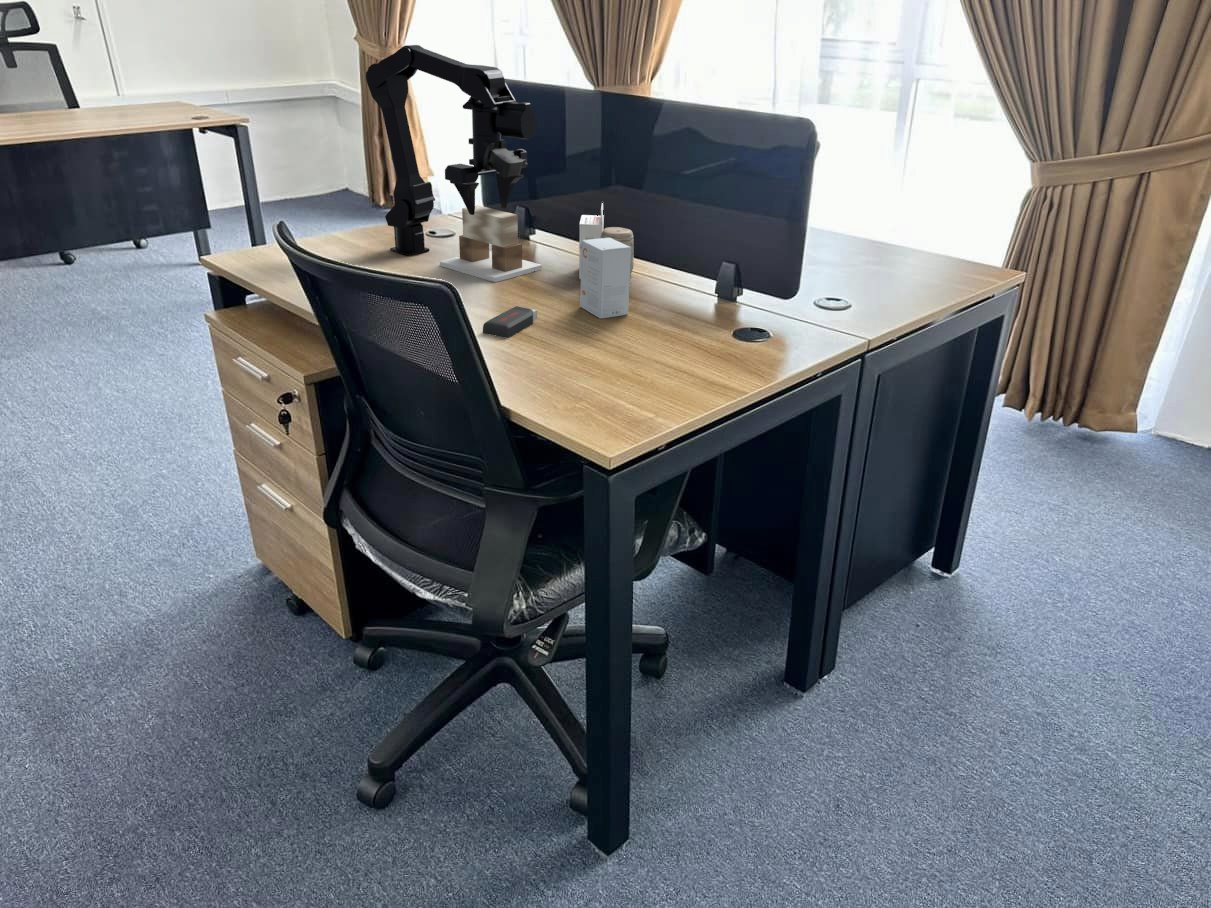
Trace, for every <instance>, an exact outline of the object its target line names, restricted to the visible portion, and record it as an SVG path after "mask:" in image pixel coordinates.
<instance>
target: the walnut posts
mask: <svg viewBox="0 0 1211 908" xmlns="http://www.w3.org/2000/svg"><path fill="white" fill-rule="evenodd" d="M458 241H459V244H458V245H459V246H458V247H459V256H460V259H462V260H466V261H469V262H476V261H480V260H484V259H488V258H489V251H490V244H489V243H485V242H481V241H478V240H474V239H470V238H466V237H463V234H461V235H459V236H458ZM491 251H492V268H494V269H497V270H500V271H504V272H507V271H511V270H515V269H518V268H522V260H523V243H519V242H518V244H514V245H510V246H506V247H500V246H496V245H492V244H491Z"/></svg>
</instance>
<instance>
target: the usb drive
mask: <svg viewBox="0 0 1211 908" xmlns="http://www.w3.org/2000/svg"><path fill="white" fill-rule="evenodd" d="M536 318H537V319H538V310H537V309H536V308H535V309H534V308H529V307H525V306H524V307H522V306H516V305H515V306H514V307H511V308H510V309H508V310H506V311H504V312H502V313H500V314H498V315H497V316H494V317H493V318H490V319H488V320H487V321H485V322H484V323H483V325H482V334H485V335H489V334H490V335H491V336H494V335H496V337H499V336H500V337H501V338H504V337H506V338H505V339H510V338H511V337H513V336H515V335H517V334H519V333H520V332H521V331H523V329H524V330H525V329H527V328H529V327H531V326H533V324H534V321H535V320H537V319H536ZM530 325H531V326H530ZM516 333H517V334H516Z"/></svg>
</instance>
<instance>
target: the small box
mask: <svg viewBox="0 0 1211 908" xmlns="http://www.w3.org/2000/svg"><path fill="white" fill-rule="evenodd" d="M630 261H631V247H629V246H627V245H625V244H623V243H621V242H618V241H616V240H614V239H612V238H600V239H589V240H582V258H581V279H580V297H579V299H580V303H579V307H580V308H582V309H583V310H586V311H587V312H588V313H590V314H592V315H593V316H595V317H597V318H599V319H606V318H607V319H608V318H615V317H620V316H627V315H629V306H630V305H629V304H630V301H629V300H630V285H631V279H630ZM629 284H630V285H629ZM626 314H627V315H626Z"/></svg>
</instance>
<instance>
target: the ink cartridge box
mask: <svg viewBox="0 0 1211 908" xmlns="http://www.w3.org/2000/svg"><path fill="white" fill-rule="evenodd" d="M600 207H601V208H600V215H598V216H597V215H596V214H594V215H591V214H582V215H581V216H580V220H579V225H578V226H579V242H578V243H579V253H578V254H579V255H578V256H579V257H578V258H579V259H578V262H579V268H578V269H579V270H578V280H581V258H582V240H589V239H600V238H601V233H602V232H603V230H604V229H605V228H604V226H605V224H604V223H605V221H604V219H605V214H604V215H603V210H604V202H603V203H602V202H601V206H600Z"/></svg>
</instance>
